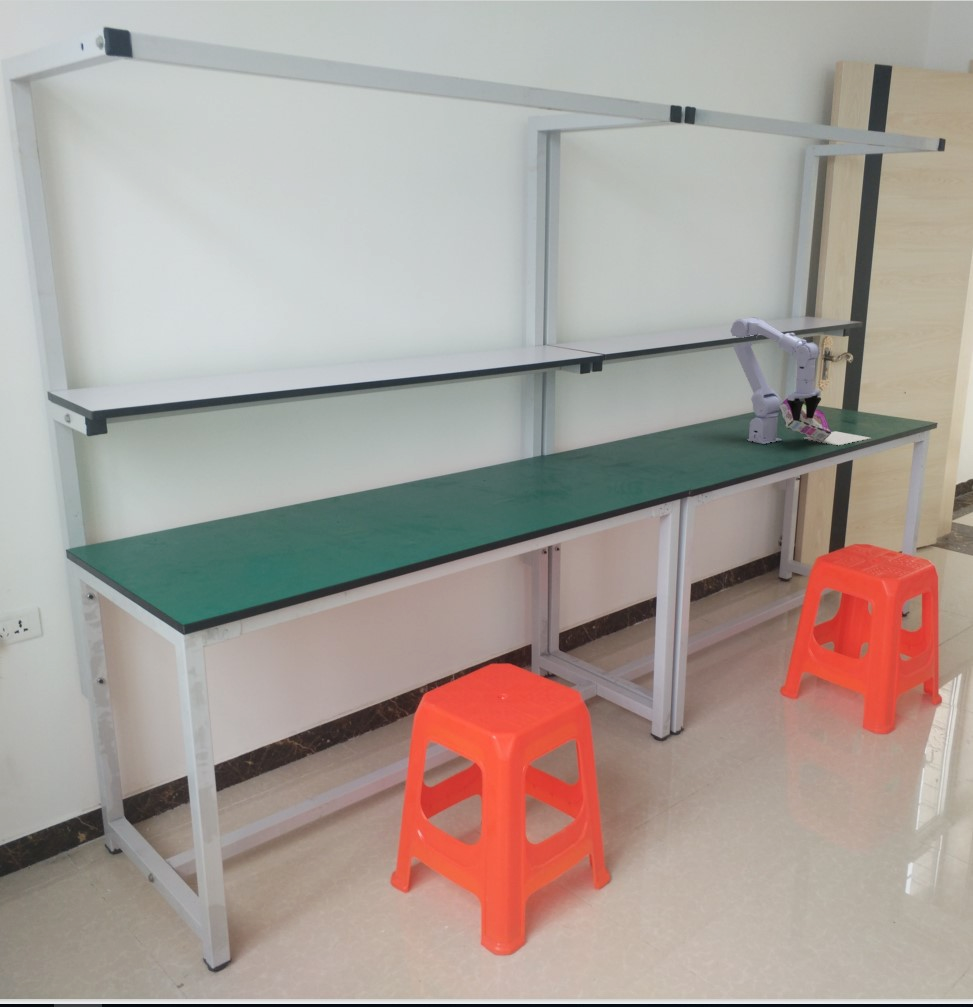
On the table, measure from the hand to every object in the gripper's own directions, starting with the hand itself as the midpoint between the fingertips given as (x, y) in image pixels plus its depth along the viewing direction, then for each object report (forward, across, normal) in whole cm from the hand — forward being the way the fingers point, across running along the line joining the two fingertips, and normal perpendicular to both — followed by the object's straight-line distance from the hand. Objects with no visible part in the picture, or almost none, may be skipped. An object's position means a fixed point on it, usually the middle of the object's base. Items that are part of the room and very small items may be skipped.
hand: (803, 419), depth 330 cm
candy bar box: (+4, +14, +2) cm, 14 cm away
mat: (+10, +20, 0) cm, 22 cm away
